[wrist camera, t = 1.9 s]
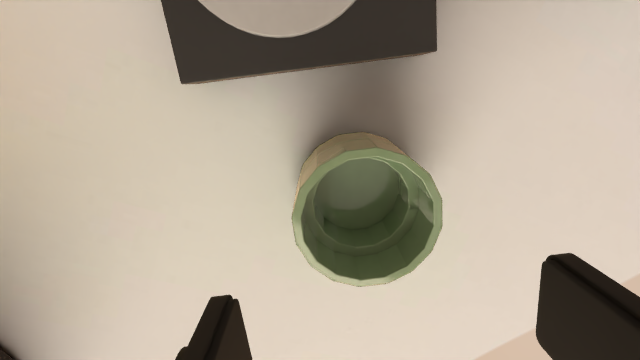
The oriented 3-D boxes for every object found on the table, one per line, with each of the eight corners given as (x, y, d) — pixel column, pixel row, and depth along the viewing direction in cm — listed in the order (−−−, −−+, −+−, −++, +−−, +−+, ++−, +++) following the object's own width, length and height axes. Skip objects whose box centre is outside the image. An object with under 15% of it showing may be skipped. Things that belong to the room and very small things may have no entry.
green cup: (409, 124, 19) (442, 139, 14) (413, 232, 22) (443, 277, 17) (290, 138, 20) (281, 158, 15) (306, 244, 22) (303, 293, 17)
